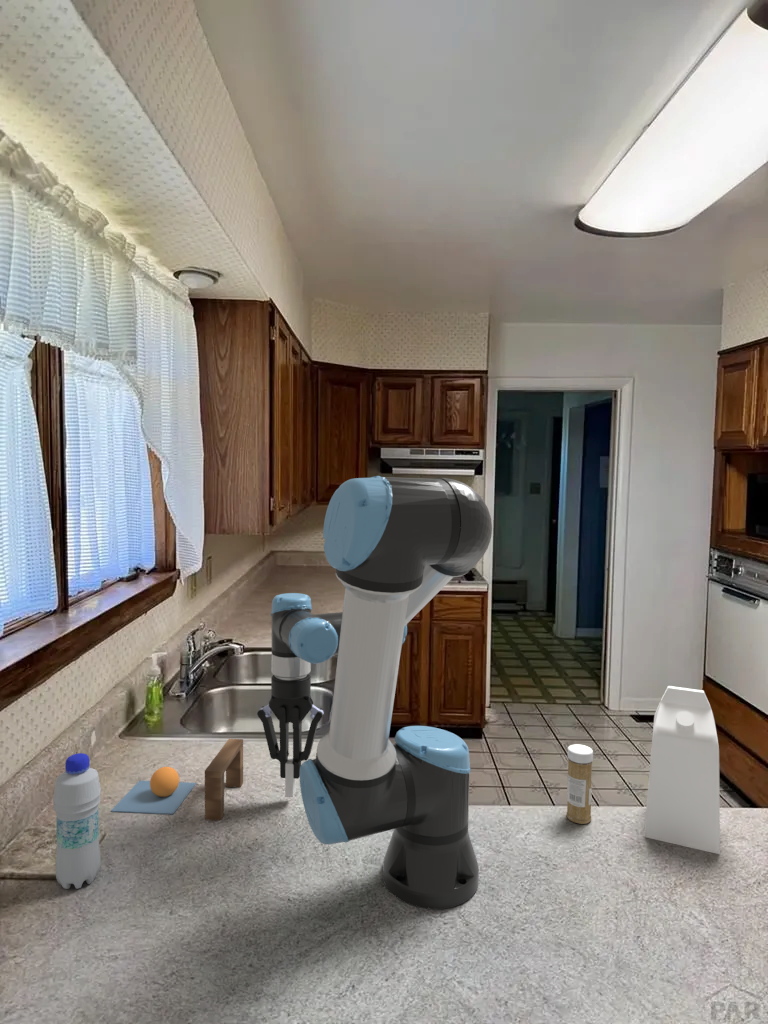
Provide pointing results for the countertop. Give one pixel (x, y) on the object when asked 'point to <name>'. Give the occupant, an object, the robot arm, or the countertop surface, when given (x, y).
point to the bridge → (214, 777)
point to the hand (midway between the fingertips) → (290, 793)
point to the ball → (164, 781)
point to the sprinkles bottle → (579, 783)
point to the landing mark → (152, 799)
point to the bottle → (77, 822)
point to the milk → (684, 772)
